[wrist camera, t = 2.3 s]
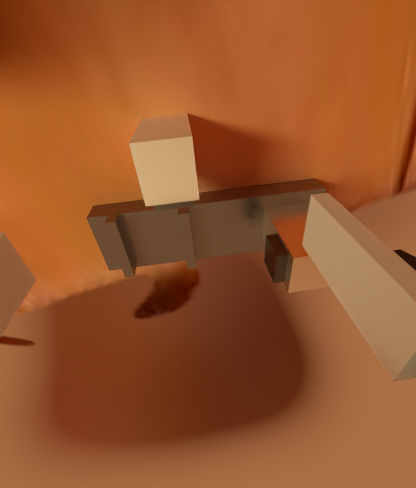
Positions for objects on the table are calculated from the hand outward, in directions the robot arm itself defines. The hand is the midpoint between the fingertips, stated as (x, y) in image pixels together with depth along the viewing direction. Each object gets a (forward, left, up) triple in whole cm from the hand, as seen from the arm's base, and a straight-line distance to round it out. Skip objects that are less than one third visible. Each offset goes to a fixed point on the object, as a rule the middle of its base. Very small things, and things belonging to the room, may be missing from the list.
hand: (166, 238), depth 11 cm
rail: (+3, -9, -16) cm, 18 cm away
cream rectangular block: (0, 0, -16) cm, 16 cm away
